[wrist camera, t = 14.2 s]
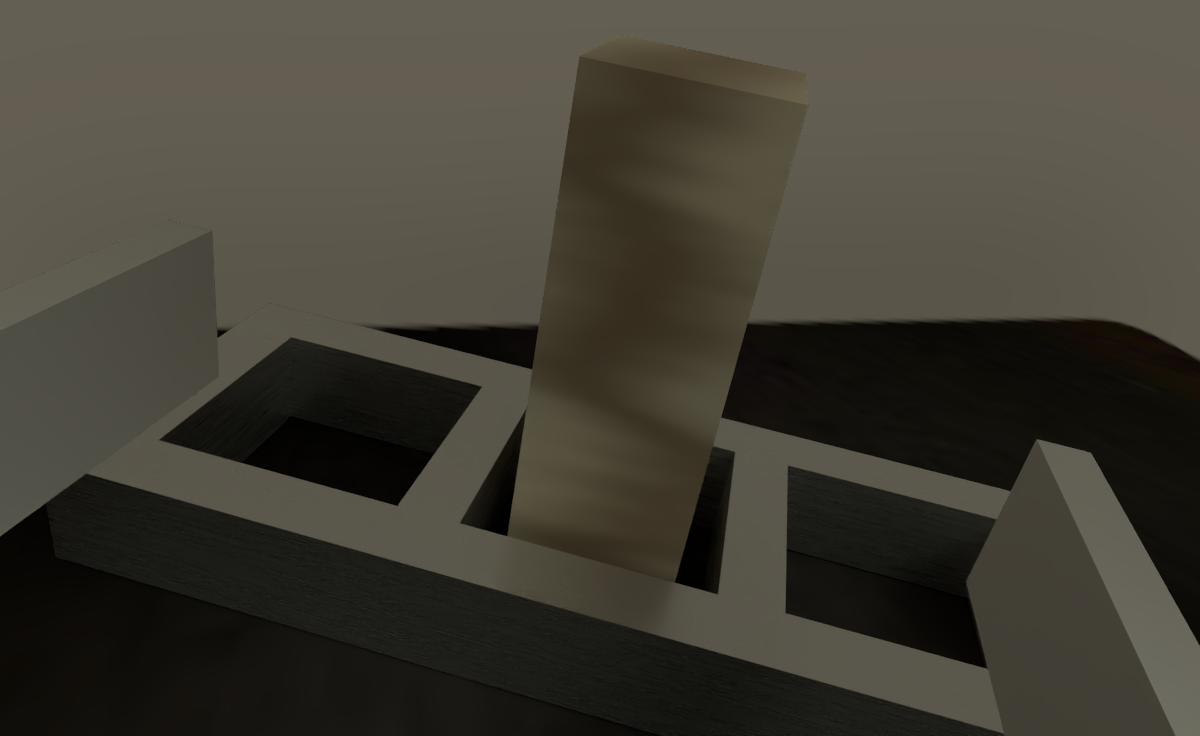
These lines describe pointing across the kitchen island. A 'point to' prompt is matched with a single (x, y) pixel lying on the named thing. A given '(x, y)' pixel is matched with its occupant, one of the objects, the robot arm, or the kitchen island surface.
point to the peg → (648, 294)
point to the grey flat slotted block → (532, 547)
